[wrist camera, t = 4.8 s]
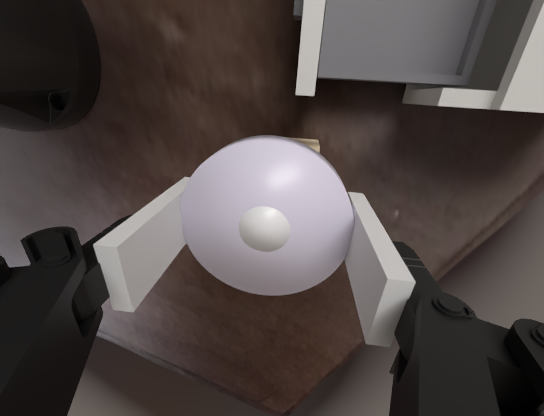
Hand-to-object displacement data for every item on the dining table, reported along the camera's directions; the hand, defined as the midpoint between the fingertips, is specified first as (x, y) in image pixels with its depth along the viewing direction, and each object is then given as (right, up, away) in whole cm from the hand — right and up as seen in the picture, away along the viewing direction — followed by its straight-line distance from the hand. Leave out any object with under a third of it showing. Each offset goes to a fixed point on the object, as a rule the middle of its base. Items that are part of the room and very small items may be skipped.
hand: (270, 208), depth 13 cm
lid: (0, 0, -1) cm, 1 cm away
